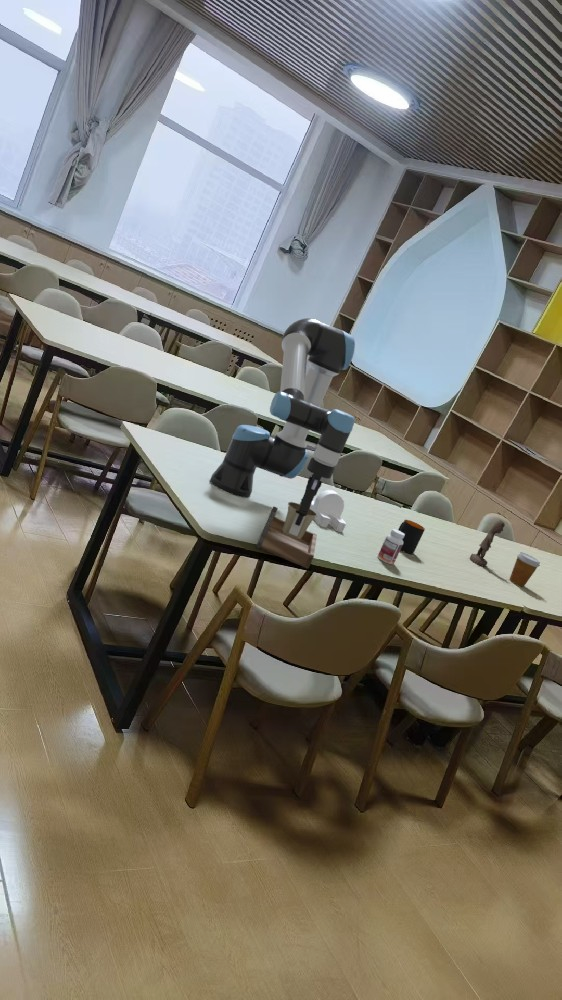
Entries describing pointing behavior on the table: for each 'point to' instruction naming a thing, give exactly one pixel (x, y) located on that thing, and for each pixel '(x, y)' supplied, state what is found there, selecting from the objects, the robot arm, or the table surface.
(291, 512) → the flower pot
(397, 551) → the pill bottle
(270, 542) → the wooden tray
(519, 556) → the disposable coffee cup
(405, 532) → the mug
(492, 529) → the figurine
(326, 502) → the bracket
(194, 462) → the table surface
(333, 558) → the table surface
